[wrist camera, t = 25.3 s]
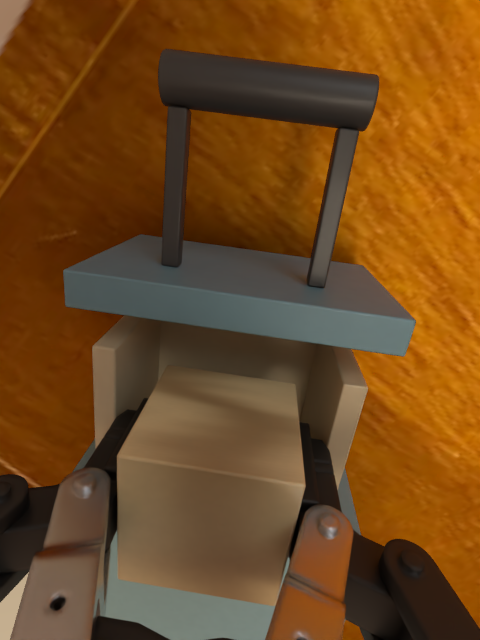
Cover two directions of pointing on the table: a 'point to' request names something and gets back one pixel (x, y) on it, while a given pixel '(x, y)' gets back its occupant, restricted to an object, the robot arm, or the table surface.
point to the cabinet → (194, 598)
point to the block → (211, 486)
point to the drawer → (244, 266)
